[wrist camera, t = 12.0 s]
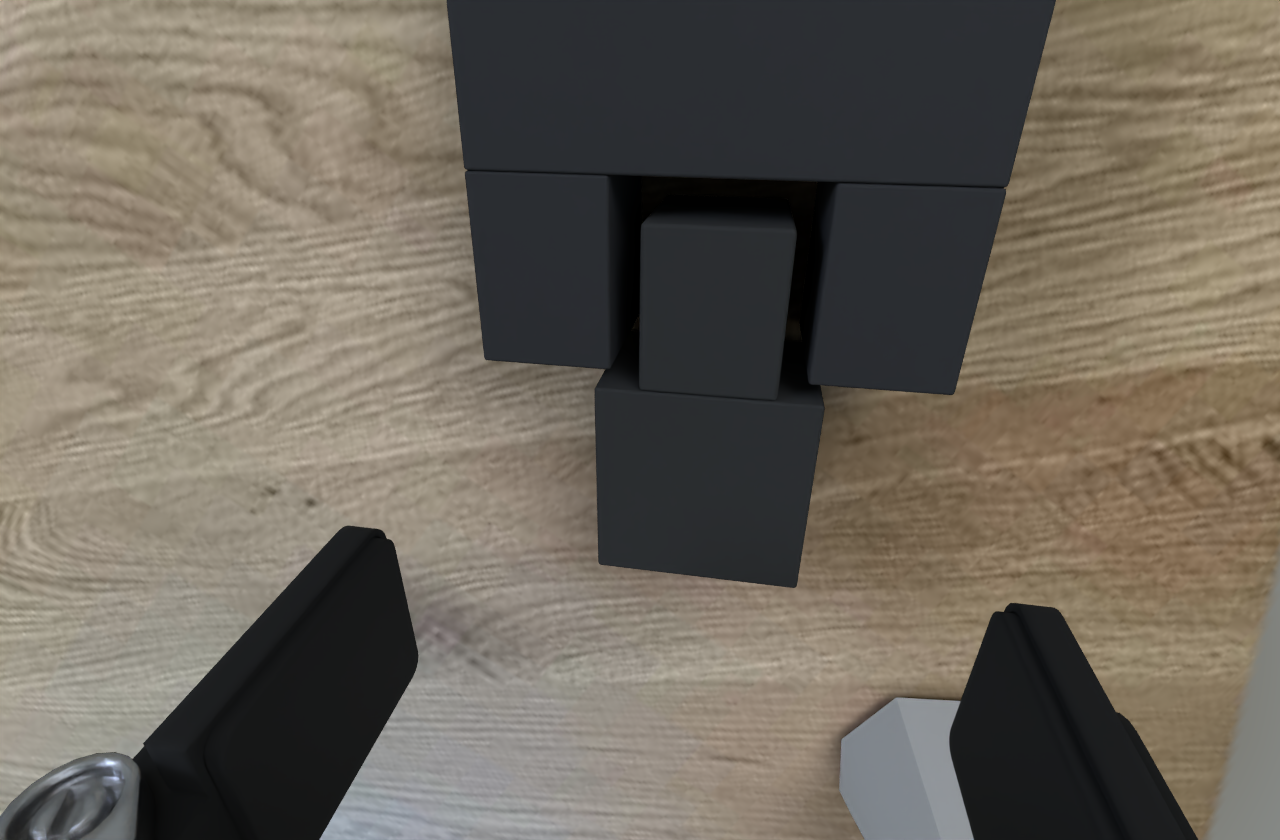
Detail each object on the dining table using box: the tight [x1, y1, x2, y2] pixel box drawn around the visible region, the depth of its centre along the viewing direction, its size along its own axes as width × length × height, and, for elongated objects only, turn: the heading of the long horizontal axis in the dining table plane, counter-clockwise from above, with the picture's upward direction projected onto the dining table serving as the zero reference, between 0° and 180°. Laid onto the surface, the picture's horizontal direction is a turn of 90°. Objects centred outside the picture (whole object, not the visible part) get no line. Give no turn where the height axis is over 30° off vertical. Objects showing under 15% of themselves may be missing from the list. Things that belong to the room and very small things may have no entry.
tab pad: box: [595, 194, 825, 588], centre depth 16 cm, size 9×5×4 cm, turn 0°
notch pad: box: [447, 0, 1056, 395], centre depth 13 cm, size 10×10×4 cm
